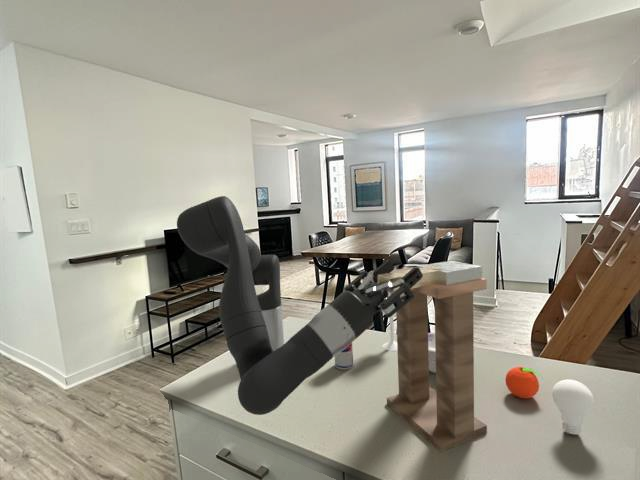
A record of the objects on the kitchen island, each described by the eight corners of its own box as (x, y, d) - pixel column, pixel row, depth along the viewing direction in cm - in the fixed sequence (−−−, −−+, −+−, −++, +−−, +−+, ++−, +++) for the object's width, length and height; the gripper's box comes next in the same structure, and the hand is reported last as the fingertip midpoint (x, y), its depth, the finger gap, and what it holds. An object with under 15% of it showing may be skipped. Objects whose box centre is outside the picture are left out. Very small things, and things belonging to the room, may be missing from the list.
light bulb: (543, 425, 73) (544, 374, 71) (573, 421, 73) (575, 371, 72) (568, 447, 66) (570, 392, 65) (601, 443, 66) (603, 388, 65)
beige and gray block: (372, 285, 67) (371, 273, 67) (451, 272, 75) (451, 260, 75) (397, 295, 60) (396, 280, 60) (482, 278, 68) (482, 266, 68)
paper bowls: (421, 352, 109) (420, 328, 108) (474, 360, 102) (474, 334, 101) (411, 375, 95) (410, 348, 94) (471, 386, 89) (471, 356, 88)
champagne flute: (398, 352, 110) (396, 277, 107) (378, 348, 114) (376, 276, 111) (405, 344, 116) (403, 273, 113) (386, 341, 119) (384, 272, 117)
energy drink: (352, 370, 100) (350, 330, 99) (333, 370, 101) (331, 330, 100) (354, 362, 105) (352, 323, 104) (336, 361, 106) (334, 323, 105)
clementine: (539, 390, 85) (540, 363, 84) (547, 407, 78) (548, 377, 78) (503, 386, 88) (503, 359, 87) (508, 402, 81) (508, 373, 80)
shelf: (386, 403, 83) (382, 271, 79) (426, 390, 88) (424, 265, 84) (441, 451, 67) (438, 288, 63) (486, 432, 71) (486, 278, 68)
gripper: (348, 318, 53) (421, 255, 58) (313, 297, 66) (374, 247, 71) (371, 354, 55) (439, 290, 60) (332, 326, 68) (391, 276, 73)
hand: (404, 267), depth 65 cm, fingers open, 8 cm apart
